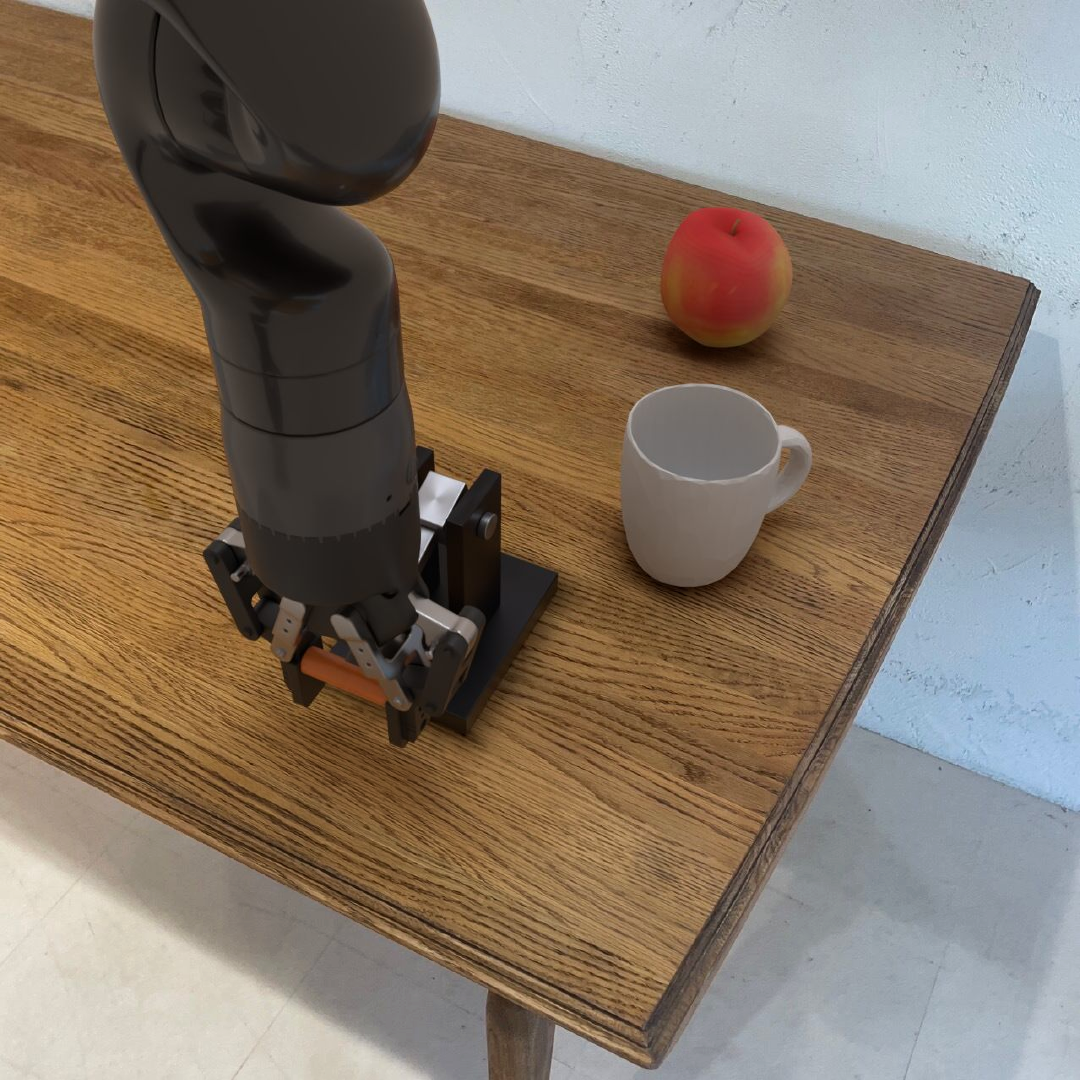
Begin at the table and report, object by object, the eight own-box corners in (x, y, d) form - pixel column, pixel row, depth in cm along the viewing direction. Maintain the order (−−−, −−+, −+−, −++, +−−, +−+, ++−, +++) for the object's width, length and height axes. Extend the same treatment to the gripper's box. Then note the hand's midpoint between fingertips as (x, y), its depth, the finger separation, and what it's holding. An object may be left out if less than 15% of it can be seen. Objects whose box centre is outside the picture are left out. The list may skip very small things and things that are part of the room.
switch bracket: (466, 736, 62) (462, 590, 53) (325, 677, 64) (299, 529, 56) (558, 589, 70) (567, 441, 61) (428, 541, 72) (420, 393, 64)
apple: (696, 386, 84) (715, 268, 77) (630, 318, 90) (642, 203, 83) (802, 353, 87) (829, 237, 80) (732, 290, 93) (751, 176, 86)
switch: (394, 715, 56) (382, 700, 54) (308, 679, 58) (293, 663, 56) (497, 512, 61) (490, 490, 59) (415, 483, 62) (405, 461, 60)
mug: (655, 622, 68) (675, 500, 61) (588, 525, 73) (598, 403, 66) (831, 561, 72) (869, 440, 65) (754, 473, 78) (781, 353, 70)
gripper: (122, 468, 46) (199, 716, 58) (434, 586, 42) (447, 826, 54) (233, 368, 51) (283, 616, 63) (522, 465, 47) (516, 710, 59)
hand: (358, 712), depth 59 cm, fingers closed on switch, 5 cm apart
